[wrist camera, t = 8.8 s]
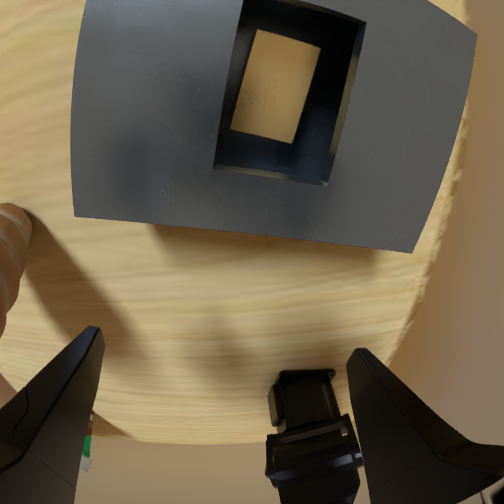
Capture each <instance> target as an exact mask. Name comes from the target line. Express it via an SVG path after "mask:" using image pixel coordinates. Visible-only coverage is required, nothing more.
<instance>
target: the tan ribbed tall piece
mask: <svg viewBox="0 0 504 504" xmlns="http://www.w3.org/2000/svg"><path fill="white" fill-rule="evenodd" d="M31 236H32V224H31V221H30V219H29V217H28V216H27V215H26V213H25V212H24V211H23V210H22V209H21V208H20V207H18V206H16V205H14V204H11V203H2V204H0V338H1V336H2V334H3V332H4V329H5V325H6V313H7V312H8V311H9V310H10V309H11V308H12V306H13V305H14V303H15V301H16V299H17V297H18V292H19V285H20V279H21V277H22V274H23V272H24V268H25V263H26V249H27V247H28V245H29V243H30V240H31Z"/></svg>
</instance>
